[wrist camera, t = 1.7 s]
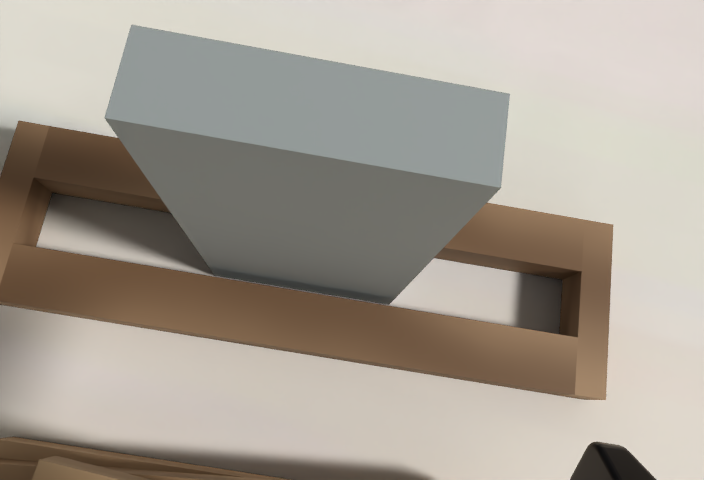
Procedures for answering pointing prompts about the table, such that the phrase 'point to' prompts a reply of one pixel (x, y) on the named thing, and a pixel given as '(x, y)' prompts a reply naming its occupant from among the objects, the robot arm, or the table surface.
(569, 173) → the table surface
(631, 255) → the table surface
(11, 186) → the frame
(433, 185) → the tall grey pillar
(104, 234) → the table surface
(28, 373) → the table surface
